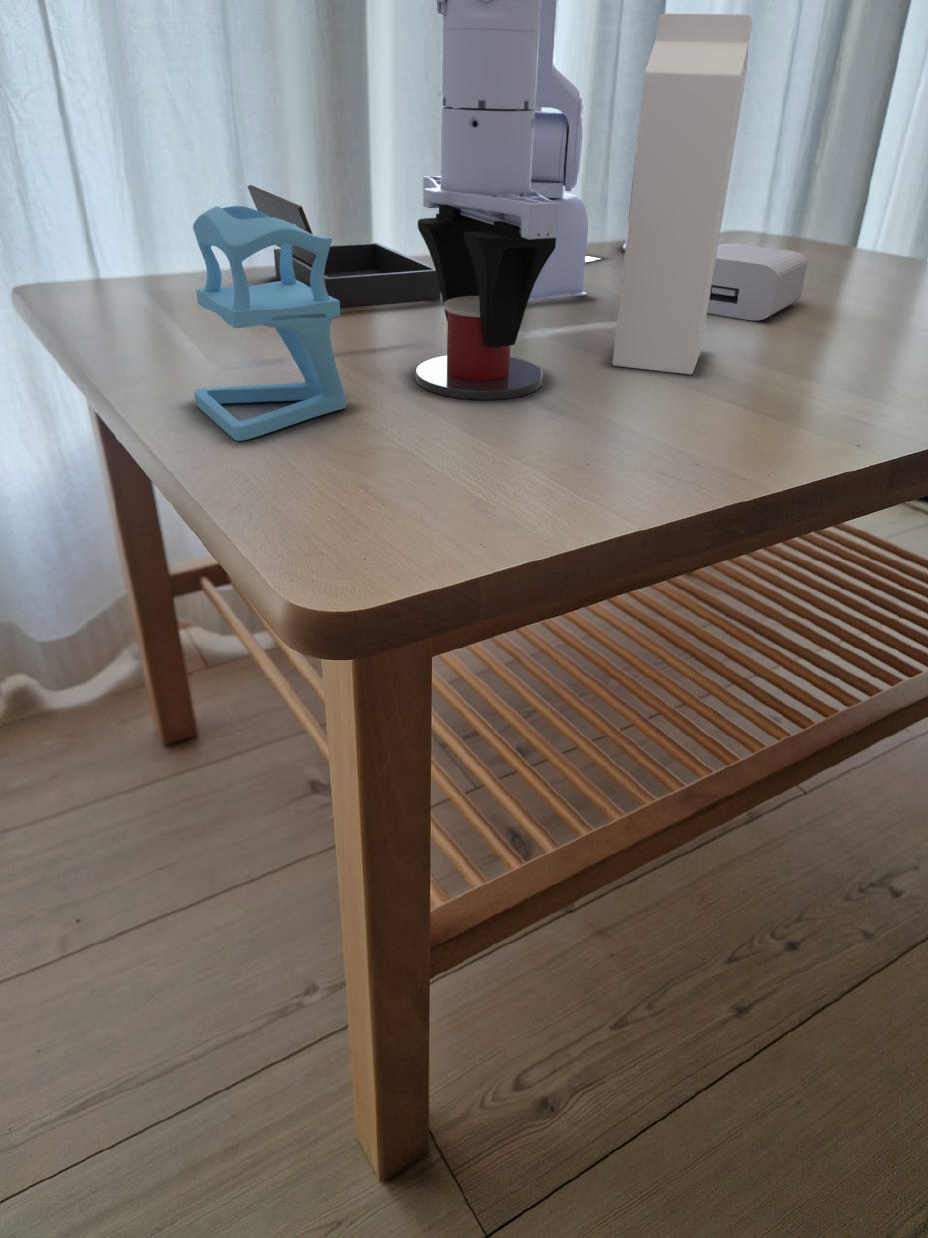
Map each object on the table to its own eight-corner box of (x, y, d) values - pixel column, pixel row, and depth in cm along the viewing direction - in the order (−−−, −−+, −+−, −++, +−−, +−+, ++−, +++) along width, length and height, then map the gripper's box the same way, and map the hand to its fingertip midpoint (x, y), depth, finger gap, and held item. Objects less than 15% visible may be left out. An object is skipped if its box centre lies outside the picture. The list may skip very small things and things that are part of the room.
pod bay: (327, 314, 78) (325, 278, 76) (276, 280, 89) (273, 248, 87) (440, 304, 82) (441, 270, 81) (378, 273, 93) (377, 242, 92)
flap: (326, 269, 76) (322, 271, 76) (274, 240, 87) (271, 242, 87) (301, 205, 72) (297, 207, 72) (250, 184, 84) (247, 186, 84)
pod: (491, 358, 66) (494, 293, 63) (525, 377, 62) (529, 308, 59) (431, 366, 64) (431, 299, 61) (463, 385, 60) (464, 315, 57)
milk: (624, 346, 72) (663, 15, 60) (701, 354, 70) (756, 16, 58) (611, 366, 67) (650, 10, 55) (693, 375, 65) (751, 11, 53)
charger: (817, 294, 90) (767, 323, 79) (729, 281, 94) (671, 307, 83) (829, 244, 87) (779, 266, 77) (737, 233, 91) (679, 253, 81)
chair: (364, 419, 56) (356, 209, 49) (235, 442, 52) (209, 218, 45) (313, 385, 61) (300, 192, 55) (193, 403, 57) (165, 199, 51)
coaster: (503, 355, 68) (503, 348, 68) (566, 390, 62) (567, 381, 61) (395, 369, 65) (395, 360, 64) (450, 406, 58) (450, 397, 58)
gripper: (381, 102, 58) (385, 316, 65) (487, 114, 47) (478, 370, 54) (476, 103, 61) (470, 308, 68) (597, 115, 50) (575, 357, 57)
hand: (480, 335), depth 61 cm, fingers closed on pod, 5 cm apart
